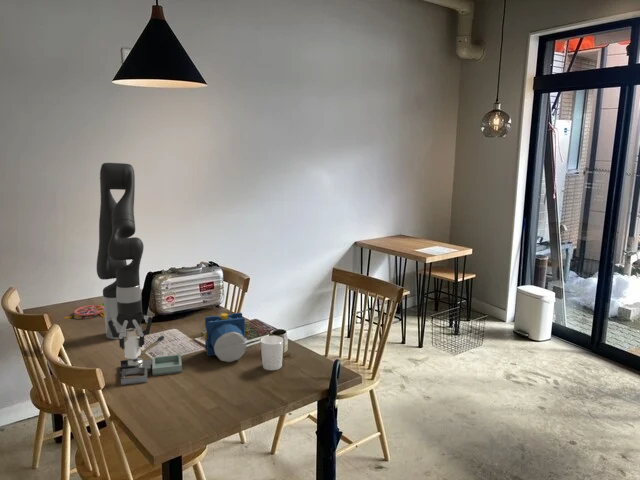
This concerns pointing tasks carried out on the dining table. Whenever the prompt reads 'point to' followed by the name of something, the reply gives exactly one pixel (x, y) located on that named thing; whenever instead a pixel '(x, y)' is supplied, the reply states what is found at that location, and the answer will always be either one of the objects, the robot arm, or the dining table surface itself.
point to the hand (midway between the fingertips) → (132, 347)
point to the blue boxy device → (225, 336)
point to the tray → (167, 364)
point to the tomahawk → (153, 344)
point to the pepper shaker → (132, 344)
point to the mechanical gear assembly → (89, 311)
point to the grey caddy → (134, 370)
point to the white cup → (272, 352)
